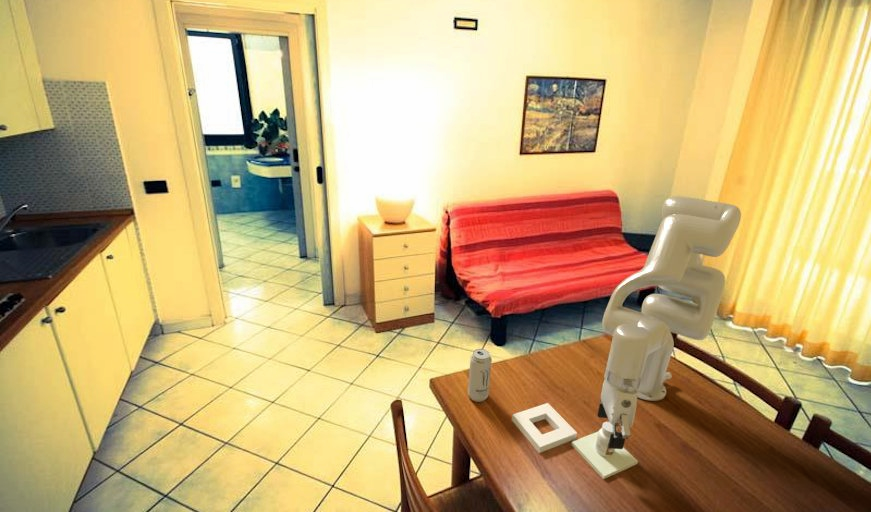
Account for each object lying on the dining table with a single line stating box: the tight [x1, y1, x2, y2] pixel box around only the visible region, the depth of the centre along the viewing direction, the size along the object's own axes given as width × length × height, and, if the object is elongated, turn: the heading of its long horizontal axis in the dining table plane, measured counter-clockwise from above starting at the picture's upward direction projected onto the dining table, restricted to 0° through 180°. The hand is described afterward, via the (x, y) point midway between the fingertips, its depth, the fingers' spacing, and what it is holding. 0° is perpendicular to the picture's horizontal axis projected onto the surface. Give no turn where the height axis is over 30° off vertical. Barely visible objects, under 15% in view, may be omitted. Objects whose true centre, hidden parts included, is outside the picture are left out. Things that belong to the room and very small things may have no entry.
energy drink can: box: [467, 348, 493, 403], centre depth 118 cm, size 6×6×15 cm
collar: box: [511, 402, 578, 454], centre depth 109 cm, size 12×12×2 cm
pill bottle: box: [595, 421, 615, 457], centre depth 101 cm, size 4×4×8 cm
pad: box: [571, 430, 638, 480], centre depth 102 cm, size 11×11×1 cm
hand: (609, 431), depth 100 cm, fingers open, 9 cm apart
